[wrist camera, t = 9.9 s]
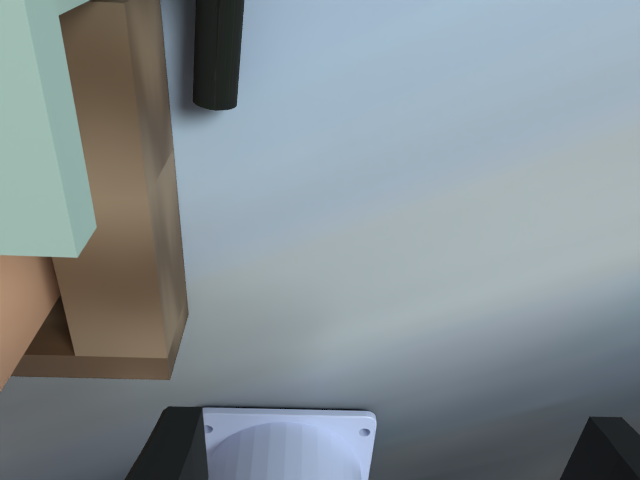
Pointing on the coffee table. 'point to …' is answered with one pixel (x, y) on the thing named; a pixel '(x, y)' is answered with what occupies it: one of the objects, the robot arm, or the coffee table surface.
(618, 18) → the coffee table surface
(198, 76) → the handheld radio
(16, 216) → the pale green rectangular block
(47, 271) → the tan peg
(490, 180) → the coffee table surface
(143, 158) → the socket plate
